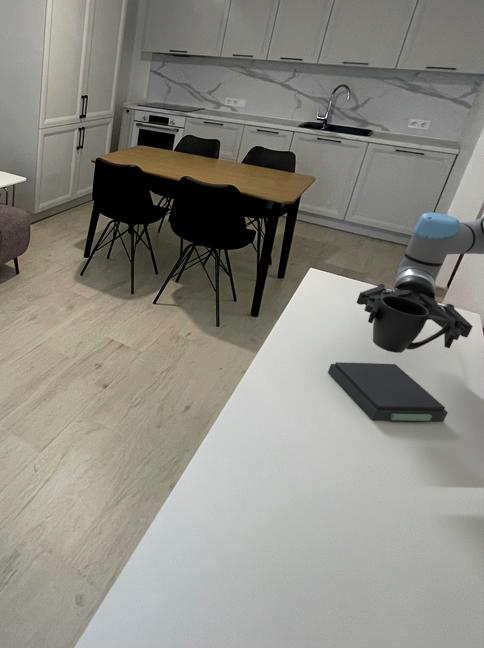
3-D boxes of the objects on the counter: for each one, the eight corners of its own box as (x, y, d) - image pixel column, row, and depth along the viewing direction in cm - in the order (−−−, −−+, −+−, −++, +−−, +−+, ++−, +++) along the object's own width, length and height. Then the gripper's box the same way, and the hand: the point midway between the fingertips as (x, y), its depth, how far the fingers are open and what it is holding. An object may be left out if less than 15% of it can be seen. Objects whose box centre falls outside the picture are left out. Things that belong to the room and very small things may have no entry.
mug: (436, 369, 96) (456, 327, 92) (364, 346, 102) (381, 306, 98) (432, 349, 103) (451, 310, 99) (365, 329, 108) (380, 291, 104)
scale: (445, 423, 99) (451, 410, 97) (373, 422, 98) (379, 409, 96) (390, 374, 113) (395, 362, 111) (327, 372, 112) (332, 360, 110)
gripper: (474, 324, 108) (480, 370, 92) (348, 287, 121) (334, 322, 105) (489, 294, 105) (498, 337, 89) (358, 259, 118) (346, 291, 102)
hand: (409, 329), depth 97 cm, fingers closed on mug, 12 cm apart
